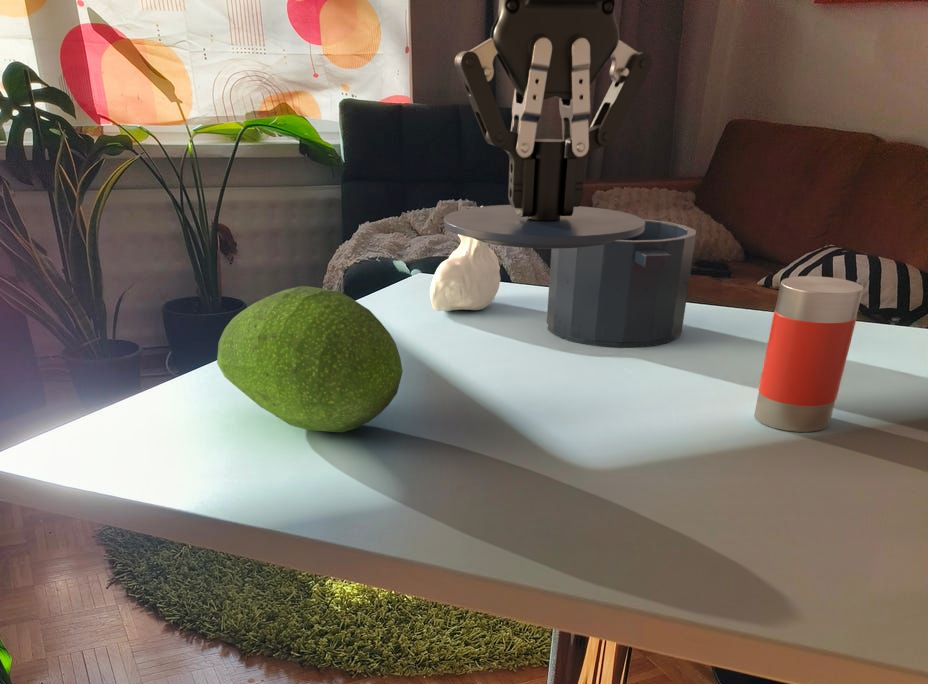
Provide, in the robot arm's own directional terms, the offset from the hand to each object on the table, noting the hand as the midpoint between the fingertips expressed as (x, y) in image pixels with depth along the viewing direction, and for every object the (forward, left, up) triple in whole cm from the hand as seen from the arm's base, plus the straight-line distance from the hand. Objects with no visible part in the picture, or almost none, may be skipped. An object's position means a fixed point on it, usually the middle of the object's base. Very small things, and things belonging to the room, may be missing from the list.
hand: (544, 213), depth 65 cm
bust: (-1, -32, -14) cm, 35 cm away
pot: (-14, -21, -14) cm, 29 cm away
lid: (0, 0, -1) cm, 1 cm away
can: (-19, +7, -14) cm, 25 cm away
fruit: (+18, +2, -14) cm, 23 cm away
